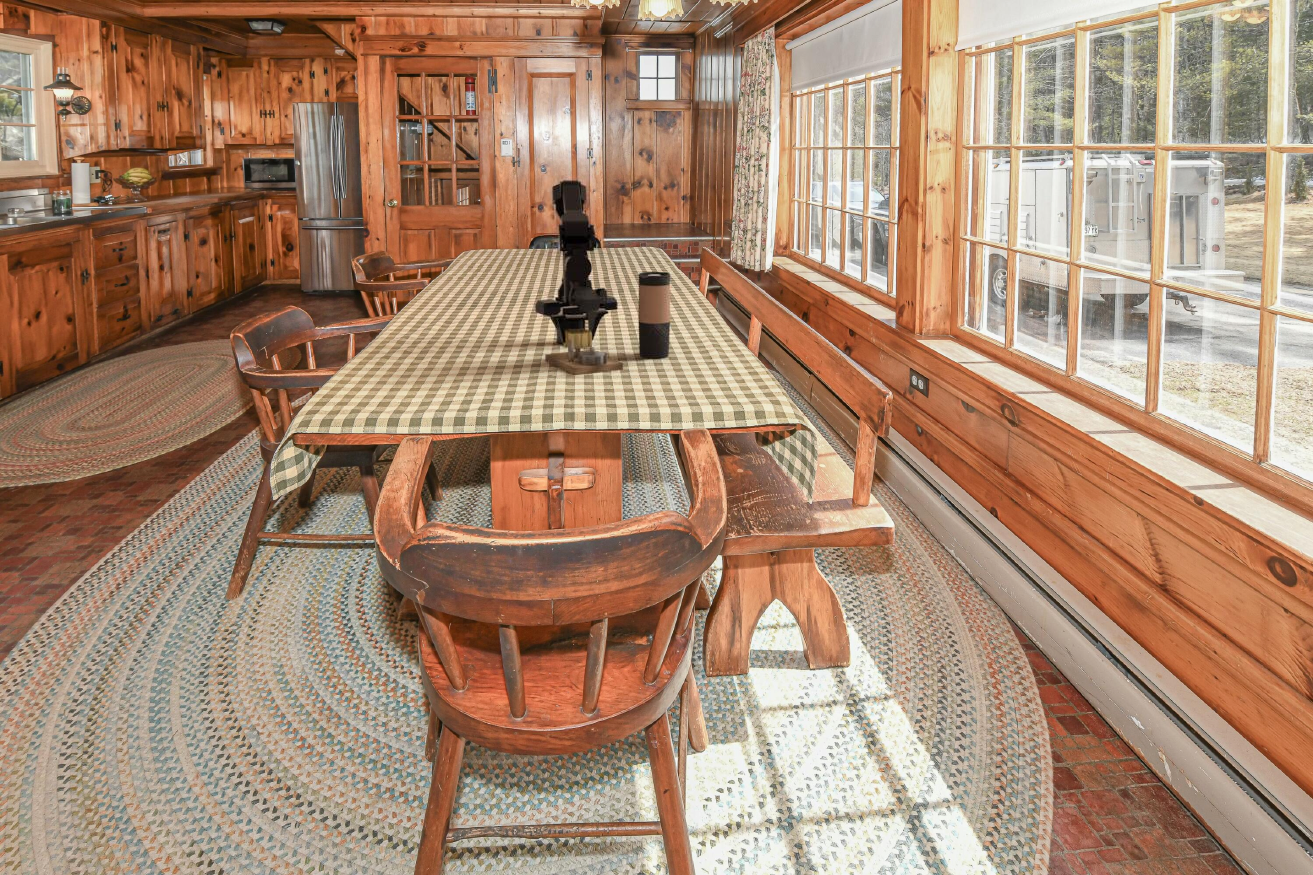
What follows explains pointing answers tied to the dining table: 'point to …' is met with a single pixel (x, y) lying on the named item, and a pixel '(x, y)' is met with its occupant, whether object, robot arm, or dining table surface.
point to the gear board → (583, 361)
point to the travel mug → (654, 314)
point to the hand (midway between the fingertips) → (577, 341)
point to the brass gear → (579, 338)
